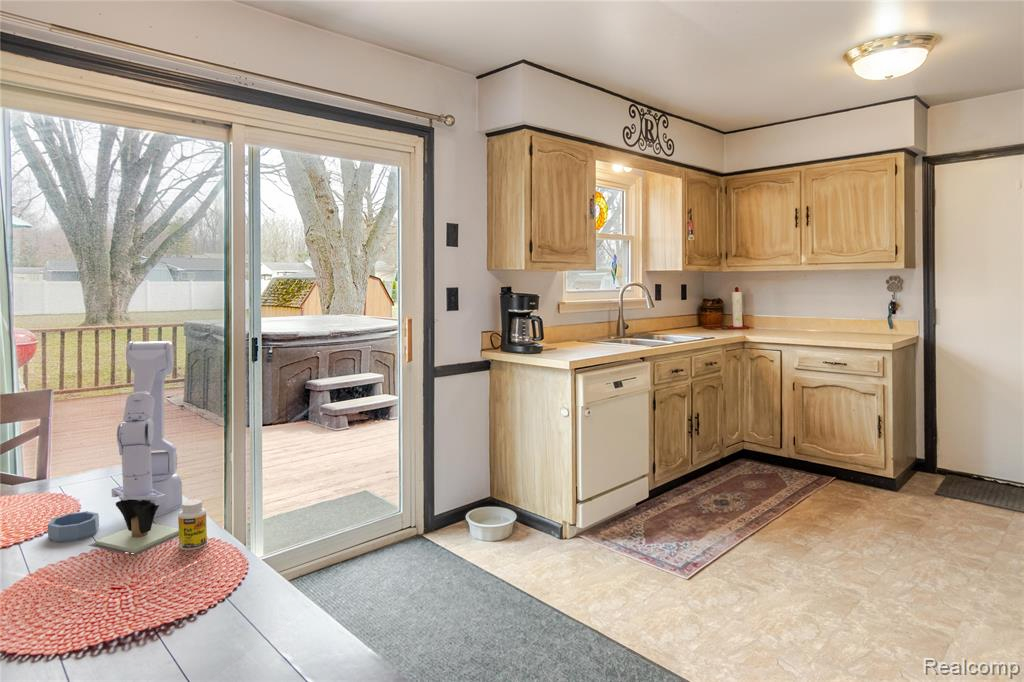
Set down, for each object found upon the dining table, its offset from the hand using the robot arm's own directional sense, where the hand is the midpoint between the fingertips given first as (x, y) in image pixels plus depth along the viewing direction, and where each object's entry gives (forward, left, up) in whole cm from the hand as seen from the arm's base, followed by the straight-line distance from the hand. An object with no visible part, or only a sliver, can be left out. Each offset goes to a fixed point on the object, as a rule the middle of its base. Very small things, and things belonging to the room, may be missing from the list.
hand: (139, 530), depth 140 cm
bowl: (+4, -16, -2) cm, 17 cm away
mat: (0, 0, -2) cm, 2 cm away
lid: (0, 0, -2) cm, 2 cm away
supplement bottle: (-2, +14, -2) cm, 14 cm away
